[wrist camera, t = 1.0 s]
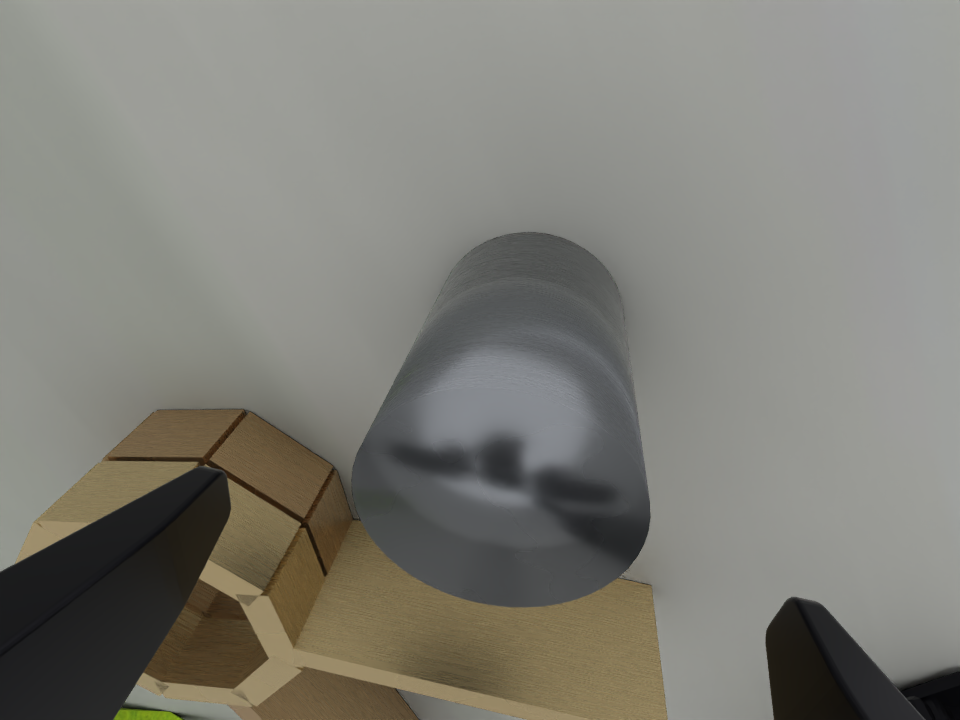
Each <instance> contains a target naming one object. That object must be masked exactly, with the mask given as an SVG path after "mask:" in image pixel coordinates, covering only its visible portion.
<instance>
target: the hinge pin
mask: <svg viewBox="0 0 960 720" xmlns="http://www.w3.org/2000/svg"><path fill="white" fill-rule="evenodd" d="M352 495H353V499H354V504H355V508H356V510H357V513H358V515H359V518H360V520H361V522H362V524H363V526H364V528H365V529H366V531H367V533H368V535H369V536H370V537H371V539H372V540H373V541H374V542H375V544H376V545H377V546H378V547H379V548H380V550H381V551H382V552H383V553H384V554H385V555H386V556H387V557H388V558H389V559H390V560H392V561H393V562H394V563H395V564H396V565H398V566H399V567H400V568H401V569H403V570H404V571H406V572H407V573H408V574H410V575H411V576H413V577H414V578H416V579H418V580H420V581H421V582H423V583H425V584H427V585H429V586H431V587H433V588H435V589H437V590H440V591H442V592H444V593H447V594H450V595H453V596H455V597H458V598H461V599H465V600H469V601H473V602H476V603H482V604H487V605H493V606H502V607H523V608H528V607H543V606H549V605H556V604H561V603H565V602H569V601H573V600H576V599H579V598H582V597H584V596H587V595H590V594H592V593H594V592H596V591H598V590H600V589H602V588H603V587H605V586H607V585H608V584H610V583H611V582H612V581H614V580H615V579H617V578H618V577H619V576H620V575H621V574H622V573H623V572H625V571H626V570H627V569H628V568H629V566H630V565H631V564H632V563H633V561H634V560H635V559H636V558H637V556H638V554H639V552H640V551H641V549H642V547H643V545H644V543H645V540H646V537H647V534H648V531H649V523H650V501H649V493H648V486H647V479H646V471H645V464H644V457H643V450H642V442H641V435H640V428H639V421H638V413H637V406H636V399H635V392H634V384H633V377H632V370H631V362H630V355H629V348H628V341H627V333H626V326H625V319H624V312H623V305H622V301H621V296H620V293H619V291H618V288H617V286H616V284H615V282H614V280H613V278H612V276H611V275H610V273H609V272H608V271H607V269H606V268H605V267H604V266H603V264H602V263H601V262H600V261H599V260H598V259H597V258H596V257H594V256H593V255H592V254H591V253H589V252H588V251H587V250H585V249H584V248H582V247H580V246H579V245H577V244H575V243H573V242H571V241H568V240H566V239H563V238H561V237H557V236H553V235H549V234H543V233H535V232H533V233H514V234H508V235H504V236H500V237H497V238H494V239H492V240H489V241H487V242H485V243H483V244H481V245H479V246H478V247H476V248H474V249H473V250H472V251H470V252H469V253H468V254H467V255H465V256H464V257H463V258H462V259H461V260H460V262H459V263H458V264H457V265H456V266H455V268H454V269H453V270H452V272H451V273H450V275H449V277H448V279H447V281H446V283H445V285H444V287H443V289H442V290H441V292H440V294H439V296H438V298H437V300H436V302H435V304H434V306H433V308H432V310H431V312H430V314H429V316H428V318H427V319H426V321H425V323H424V325H423V327H422V329H421V331H420V333H419V335H418V337H417V339H416V341H415V343H414V345H413V346H412V348H411V350H410V352H409V354H408V356H407V358H406V360H405V362H404V364H403V366H402V368H401V370H400V372H399V374H398V375H397V377H396V379H395V381H394V383H393V385H392V387H391V389H390V391H389V393H388V395H387V397H386V399H385V401H384V402H383V404H382V406H381V408H380V410H379V412H378V414H377V416H376V418H375V420H374V422H373V424H372V426H371V428H370V429H369V431H368V433H367V435H366V437H365V439H364V441H363V443H362V445H361V447H360V449H359V451H358V453H357V455H356V459H355V462H354V465H353V472H352Z"/></svg>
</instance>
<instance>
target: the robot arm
mask: <svg viewBox="0 0 960 720" xmlns="http://www.w3.org/2000/svg"><path fill="white" fill-rule="evenodd" d="M230 512H231V500H230V493H229V486H228V479H227V475H226V473H225V472H224V471H222V470H219V469H215V468H210V467H206V466H199V467H196V468H194V469H192V470H190V471H188V472H186V473H184V474H182V475H181V476H179V477H177V478H175V479H173V480H171V481H169V482H167V483H166V484H164V485H162V486H160V487H158V488H156V489H154V490H152V491H151V492H149V493H147V494H145V495H143V496H141V497H139V498H137V499H136V500H134V501H132V502H130V503H128V504H126V505H124V506H122V507H121V508H119V509H117V510H115V511H113V512H111V513H109V514H107V515H106V516H104V517H102V518H100V519H98V520H96V521H94V522H93V523H91V524H89V525H87V526H85V527H83V528H81V529H79V530H78V531H76V532H74V533H72V534H70V535H68V536H66V537H64V538H63V539H61V540H59V541H57V542H55V543H53V544H51V545H49V546H48V547H46V548H44V549H42V550H40V551H38V552H36V553H34V554H33V555H31V556H29V557H27V558H25V559H23V560H21V561H19V562H18V563H16V564H14V565H12V566H10V567H8V568H6V569H4V570H3V571H1V572H0V720H113V719H114V718H115V716H116V715H117V713H118V711H119V710H120V708H121V707H122V705H123V704H124V702H125V700H126V699H127V697H128V696H129V694H130V693H131V691H132V689H133V688H134V686H135V685H136V683H137V681H138V680H139V678H140V677H141V675H142V674H143V672H144V670H145V669H146V667H147V666H148V664H149V663H150V661H151V659H152V658H153V656H154V655H155V653H156V651H157V650H158V648H159V647H160V645H161V644H162V642H163V640H164V639H165V637H166V636H167V634H168V633H169V631H170V629H171V628H172V626H173V625H174V623H175V621H176V620H177V618H178V616H179V615H180V613H181V611H182V610H183V608H184V606H185V605H186V603H187V601H188V599H189V597H190V595H191V593H192V591H193V589H194V587H195V585H196V583H197V581H198V579H199V577H200V575H201V573H202V571H203V569H204V567H205V565H206V563H207V561H208V559H209V557H210V555H211V553H212V551H213V549H214V547H215V545H216V543H217V541H218V539H219V537H220V535H221V533H222V531H223V529H224V527H225V525H226V523H227V521H228V519H229V516H230ZM766 651H767V660H768V669H769V678H770V687H771V697H772V706H773V715H774V720H960V672H956V673H953V674H951V675H948V676H945V677H942V678H939V679H936V680H933V681H930V682H927V683H924V684H921V685H918V686H915V687H913V688H910V689H907V690H904V691H901V692H900V691H899V690H898V689H897V688H896V686H895V685H894V684H893V683H892V682H891V681H890V680H889V679H888V677H887V676H886V675H885V674H884V673H883V672H882V671H881V670H880V668H879V667H878V666H877V665H876V664H875V663H874V662H873V661H872V660H871V658H870V657H869V656H868V655H867V654H866V653H865V652H864V651H863V649H862V648H861V647H860V646H859V645H858V644H857V643H856V642H855V640H854V639H853V638H852V637H851V636H850V635H849V634H848V633H847V632H846V630H845V629H844V628H843V627H842V626H841V625H840V624H839V623H838V621H837V620H836V619H835V618H834V617H833V616H832V615H831V614H830V612H829V611H828V610H827V609H826V608H825V607H824V606H823V605H821V604H820V603H818V602H816V601H812V600H807V599H803V598H798V597H791V598H789V599H787V600H786V601H785V603H784V604H783V606H782V607H781V609H780V610H779V611H778V613H777V614H776V616H775V617H774V619H773V620H772V622H771V623H770V624H769V626H768V628H767V631H766Z"/></svg>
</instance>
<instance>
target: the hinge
mask: <svg viewBox="0 0 960 720" xmlns="http://www.w3.org/2000/svg"><path fill="white" fill-rule="evenodd" d="M199 466H206V467H210V468H215V469H219V470H222V471H224V472H225V473H226V475H227V479H228V486H229V493H230V500H231V512H230V516H229V519H228V521H227V523H226V525H225V527H224V529H223V531H222V533H221V535H220V537H219V539H218V541H217V543H216V545H215V547H214V549H213V551H212V553H211V555H210V557H209V559H208V561H207V563H206V565H205V567H204V569H203V571H202V573H201V575H200V577H199V579H198V581H197V583H196V585H195V587H194V589H193V591H192V593H191V595H190V597H189V599H188V601H187V603H186V605H185V606H184V608H183V610H182V611H181V613H180V615H179V616H178V618H177V620H176V621H175V623H174V625H173V626H172V628H171V629H170V631H169V633H168V634H167V636H166V637H165V639H164V640H163V642H162V644H161V645H160V647H159V648H158V650H157V651H156V653H155V655H154V656H153V658H152V659H151V661H150V663H149V664H148V666H147V667H146V669H145V670H144V672H143V674H142V675H141V677H140V678H139V680H138V681H137V683H136V684H137V685H139V686H141V687H143V688H145V689H147V690H149V691H151V692H153V693H155V694H157V695H158V696H160V695H161V694H163V695H164V697H165V698H171V699H180V700H190V701H199V702H209V703H218V704H227V705H228V706H229V707H230V708H232V709H233V710H234V711H235V712H236V713H237V714H238V715H239V716H240V717H241V718H242V719H243V720H419V719H418V718H417V717H416V715H415V714H414V713H413V712H412V710H411V709H410V708H409V706H408V705H407V704H406V702H405V701H404V700H403V699H402V697H401V696H400V695H399V693H398V692H397V691H396V689H395V688H397V689H401V690H405V691H410V692H414V693H418V694H422V695H426V696H431V697H435V698H439V699H443V700H447V701H452V702H456V703H460V704H464V705H468V706H472V707H477V708H481V709H485V710H489V711H493V712H498V713H502V714H506V715H510V716H514V717H519V718H523V719H527V720H668V719H667V711H666V703H665V694H664V686H663V678H662V670H661V661H660V653H659V645H658V637H657V628H656V620H655V612H654V604H653V595H652V587H651V585H646V584H642V583H637V582H633V581H628V580H624V579H619V578H617V579H615V580H614V581H612V582H611V583H610V584H608V585H607V586H605V587H603V588H602V589H600V590H598V591H596V592H594V593H592V594H590V595H587V596H584V597H582V598H579V599H576V600H573V601H569V602H565V603H561V604H556V605H549V606H543V607H528V608H523V607H502V606H493V605H487V604H482V603H476V602H473V601H469V600H465V599H461V598H458V597H455V596H453V595H450V594H447V593H444V592H442V591H440V590H437V589H435V588H433V587H431V586H429V585H427V584H425V583H423V582H421V581H420V580H418V579H416V578H414V577H413V576H411V575H410V574H408V573H407V572H406V571H404V570H403V569H401V568H400V567H399V566H398V565H396V564H395V563H394V562H393V561H392V560H390V559H389V558H388V557H387V556H386V555H385V554H384V553H383V552H382V551H381V550H380V548H379V547H378V546H377V545H376V544H375V542H374V541H373V540H372V539H371V537H370V536H369V535H368V533H367V531H366V529H365V528H364V526H363V524H362V522H361V521H358V520H353V518H352V515H351V512H350V509H349V506H348V503H347V500H346V497H345V494H344V491H343V488H342V484H341V481H340V478H339V475H338V472H337V470H331V469H332V468H333V465H331V464H330V463H328V462H326V461H325V460H323V459H322V458H320V457H319V456H317V455H316V454H314V453H313V452H311V451H310V450H308V449H307V448H305V447H304V446H302V445H301V444H299V443H297V442H296V441H294V440H293V439H291V438H290V437H288V436H287V435H285V434H284V433H282V432H281V431H279V430H278V429H276V428H275V427H273V426H272V425H270V424H268V423H267V422H265V421H264V420H262V419H261V418H259V417H258V416H256V415H255V414H253V413H252V412H249V413H248V414H247V415H246V413H245V411H244V409H241V410H157V411H156V412H155V413H154V412H153V413H152V414H151V415H150V416H149V417H148V418H147V419H145V420H144V421H143V422H142V423H141V424H140V425H139V426H138V427H137V428H136V429H135V430H133V431H132V432H131V433H130V434H129V435H128V436H127V437H126V438H125V439H124V440H123V441H122V442H120V443H119V444H118V445H117V446H116V447H115V448H114V449H113V450H112V451H111V452H110V453H108V454H107V455H106V456H105V457H104V458H103V460H102V462H101V463H98V464H97V465H95V466H94V467H93V468H92V469H91V470H90V471H89V472H88V473H87V474H86V475H85V476H83V477H82V478H81V479H80V480H79V481H78V482H77V483H76V484H75V485H74V486H73V487H72V488H70V489H69V490H68V491H67V492H66V493H65V494H64V495H63V496H62V497H61V498H60V499H58V500H57V501H56V502H55V503H54V504H53V505H52V506H51V507H50V508H49V509H48V510H46V511H45V512H44V513H43V514H42V515H41V516H40V517H39V518H38V519H37V520H36V521H35V522H33V524H32V527H31V529H30V531H29V533H28V536H27V538H26V540H25V542H24V544H23V547H22V549H21V551H20V553H19V556H18V558H17V560H16V562H15V564H16V563H18V562H19V561H21V560H23V559H25V558H27V557H29V556H31V555H33V554H34V553H36V552H38V551H40V550H42V549H44V548H46V547H48V546H49V545H51V544H53V543H55V542H57V541H59V540H61V539H63V538H64V537H66V536H68V535H70V534H72V533H74V532H76V531H78V530H79V529H81V528H83V527H85V526H87V525H89V524H91V523H93V522H94V521H96V520H98V519H100V518H102V517H104V516H106V515H107V514H109V513H111V512H113V511H115V510H117V509H119V508H121V507H122V506H124V505H126V504H128V503H130V502H132V501H134V500H136V499H137V498H139V497H141V496H143V495H145V494H147V493H149V492H151V491H152V490H154V489H156V488H158V487H160V486H162V485H164V484H166V483H167V482H169V481H171V480H173V479H175V478H177V477H179V476H181V475H182V474H184V473H186V472H188V471H190V470H192V469H194V468H196V467H199Z"/></svg>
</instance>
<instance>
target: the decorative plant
mask: <svg viewBox="0 0 960 720" xmlns="http://www.w3.org/2000/svg"><path fill="white" fill-rule="evenodd" d="M113 720H184V719H183V718H181V717H179V716H177V715H175V714H173V713H171V712H166V711H153V710H141V709H128V708H120V710H119V711H118V713H117V715H116V716H115V718H114V719H113Z"/></svg>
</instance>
